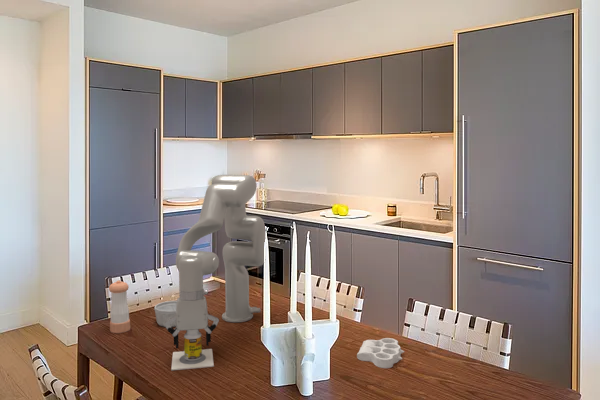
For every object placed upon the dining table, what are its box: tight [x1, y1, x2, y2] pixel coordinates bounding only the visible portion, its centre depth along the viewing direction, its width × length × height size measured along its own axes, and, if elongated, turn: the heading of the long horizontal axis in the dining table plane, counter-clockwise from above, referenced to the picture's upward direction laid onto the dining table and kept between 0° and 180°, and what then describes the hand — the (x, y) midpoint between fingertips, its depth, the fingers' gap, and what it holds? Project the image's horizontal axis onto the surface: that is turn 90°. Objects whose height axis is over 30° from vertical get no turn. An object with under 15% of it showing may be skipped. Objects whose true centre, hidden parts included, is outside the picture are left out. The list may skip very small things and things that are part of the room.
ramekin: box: [154, 300, 177, 328], centre depth 191 cm, size 13×13×7 cm
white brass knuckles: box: [356, 337, 405, 369], centre depth 160 cm, size 3×18×15 cm
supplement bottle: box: [183, 329, 203, 361], centre depth 156 cm, size 6×6×10 cm
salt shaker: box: [108, 280, 131, 334], centre depth 182 cm, size 7×7×19 cm
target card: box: [170, 348, 215, 371], centre depth 157 cm, size 13×13×1 cm
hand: (192, 345), depth 156 cm, fingers open, 9 cm apart
